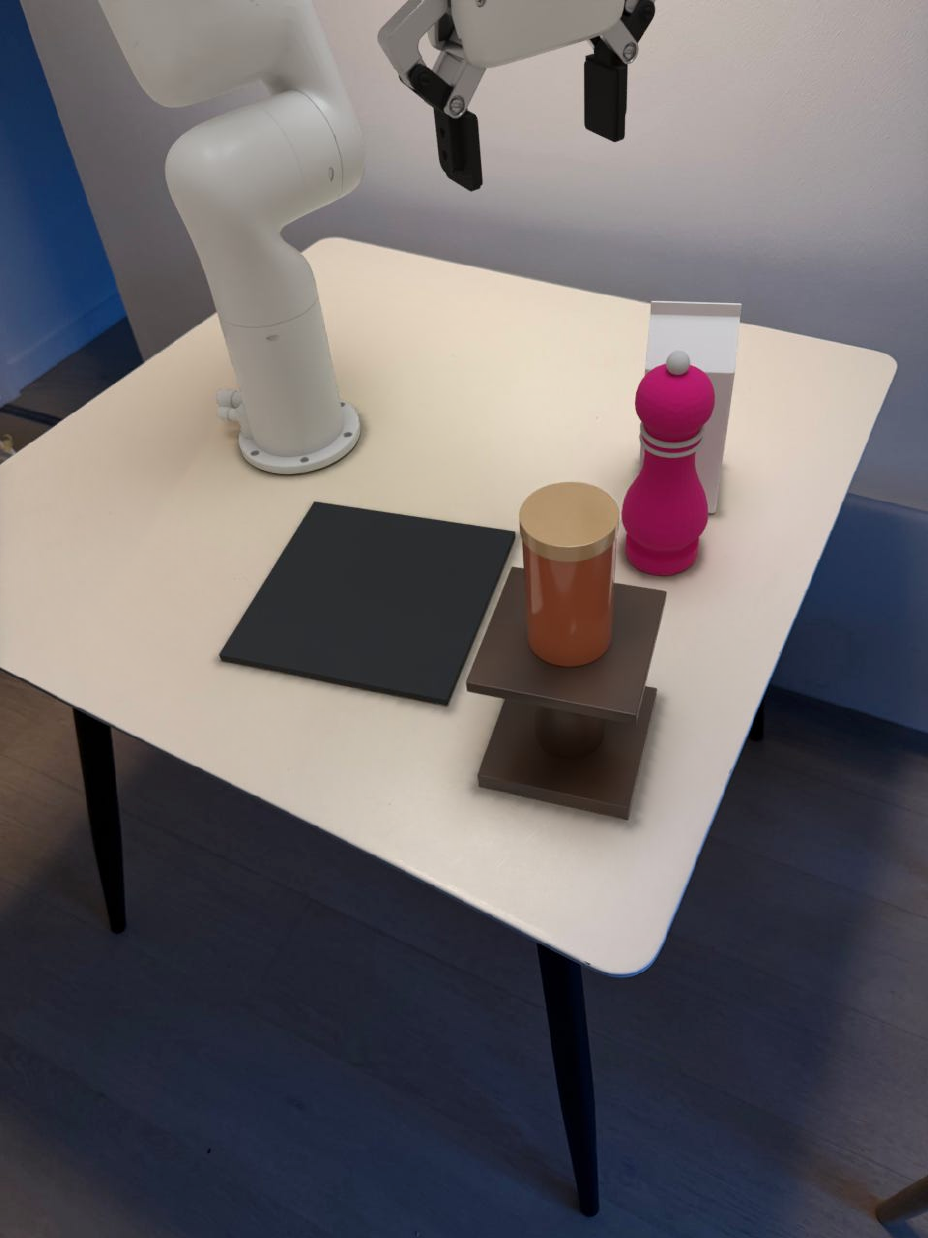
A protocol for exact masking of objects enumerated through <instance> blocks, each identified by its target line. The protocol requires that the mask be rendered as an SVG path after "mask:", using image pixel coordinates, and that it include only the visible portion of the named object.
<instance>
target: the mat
mask: <svg viewBox="0 0 928 1238" xmlns="http://www.w3.org/2000/svg"><path fill="white" fill-rule="evenodd" d="M516 538H517V537H516V531H515V530H508V529H502V528H495V527H490V526H481V525H476V524H469V523H461V522H455V521H450V520H449V521H448V520H440V519H436V518H429V517H423V516H415V515H410V514H402V513H395V512H388V511H383V510H375V509H370V508H369V509H368V508H363V507H355V506H348V505H342V504H335V503H328V502H321V501H315V500H314V501H313V502H312V504H311V506H310V507H309V509H308V511H307V512H306V513H305V515H304V517H303V518H302V520H301V522H300V523H299V525H298V526H297V528H296V530H295V531H294V533H293V535H292V536H291V538H290V539H289V541H288V543H287V544H286V546H285V547H284V549H283V550H282V552H281V554H280V556H279V557H278V558H277V560H276V562H275V563H274V565H273V566H272V568H271V570H270V571H269V573H268V574H267V576H266V578H265V579H264V581H263V582H262V584H261V586H260V587H259V590H258V591H257V592H256V593H255V596H254V597H253V599H252V601H251V602H250V604H249V605H248V607H247V608H246V610H245V612H244V613H243V615H242V617H241V618H240V620H239V621H238V623H237V625H236V626H235V628H234V629H233V631H232V633H231V634H230V635H229V637H228V639H227V640H226V641H225V642H226V643H225V644H224V645H223V647H222V649H221V650H220V652H219V654H218V656H219V659H220V661H222V662H226V663H232V664H236V665H241V666H245V667H252V668H257V669H260V670H266V671H272V672H276V673H281V674H286V675H291V676H297V677H301V678H306V679H311V680H316V681H320V682H325V683H330V684H336V685H341V686H346V687H351V688H356V689H361V690H366V691H371V692H376V693H381V694H385V695H390V696H395V697H400V698H405V699H410V700H414V701H415V700H416V701H421V702H425V703H430V704H434V705H440V706H445V707H447V706H448V705H449V704H450V701H451V700H452V699H451V698H452V696H453V693H454V691H455V688H456V686H457V684H458V681H459V679H460V677H461V674H462V671H463V669H464V666H465V664H466V661H467V659H468V656H469V654H470V653H471V652H470V651H471V649H472V646H473V645H474V642H475V639H476V637H477V634H478V632H479V629H480V627H481V625H482V622H483V619H484V617H485V616H486V615H485V614H486V612H487V609H488V607H489V604H490V601H491V600H492V597H493V595H494V592H495V591H496V587H497V585H498V582H499V580H500V577H501V575H502V572H503V570H504V568H505V565H506V562H507V561H508V557H509V556H510V553H511V551H512V548H513V545H514V543H515V540H516Z"/></svg>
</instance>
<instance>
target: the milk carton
mask: <svg viewBox="0 0 928 1238" xmlns="http://www.w3.org/2000/svg"><path fill="white" fill-rule="evenodd" d="M742 306H743V304H742V303H740V302H739V303H738V302H737V303H736V302H708V301H707V302H704V301H673V300H670V301H669V300H651V301H650V309H649V322H648V333H647V343H646V353H645V355H646V356H645V363H644V376H645V375H646V374H647V373H648V372H649V371H651V370H652V369H654V368H655V367H657V366H660V365H663V364H665V363H666V360H667V357H668V356H669V355H670V354H671V353H672V352H674V351H684V352H685V353H686V354H687V355H688V356H689V358H690V365H692V366H695V367H697V368H699V369H700V370H702V371H703V372H704V373H705V374H706V375H707V376H708V377H709V379H710V380H711V382H712V385H713V387H714V393H715V405H714V409H713V412H712V415H711V417H710V418H709V420H708V421H707V422H706V423H705V424H704V425H705V432H704V441H703V444H702V446H701V447H700V448H699V449H698V450H697V451H696V454H695V467H696V472H697V474H698V477H699V480H700V482H701V484H702V487H703V489H704V491H705V495H706V499H707V504H708V514H715V513H716V512H717V505H718V498H719V489H720V484H721V477H722V470H723V461H724V456H725V455H724V454H725V447H726V442H727V441H726V440H727V433H728V426H729V418H730V413H731V412H730V410H731V405H732V396H733V390H734V389H733V388H734V384H735V383H734V381H735V374H736V365H737V355H738V347H739V346H738V345H739V344H738V343H739V335H740V325H741V314H742ZM639 443H640V442H639ZM644 454H645V452H644V447H643V446H642V445H641V443H640V444H639V459H638V460H639V461H638V474H639V473H640V471H641V469H642V466H643V461H644Z"/></svg>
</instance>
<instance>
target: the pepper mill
mask: <svg viewBox="0 0 928 1238" xmlns="http://www.w3.org/2000/svg"><path fill="white" fill-rule="evenodd" d="M714 405H715V393H714V387H713V385H712V382H711V380H710V379H709V377H708V376H707V375H706V374H705V373H704V372H703V371H702V370H700V369H699V368H697V367H695V366H692V365H690V358H689V356H688V355H687V354H686V353H685V352H684V351H674V352H672V353H671V354H670V355H669V356H668V357H667V360H666V363H665V364H663V365H660V366H657V367H655V368H654V369H652V370H651V371H649V372H648V373H647V374H646V375H645V374H644V376H643V377H642V378H641V380H640V382H639V383H638V386H637V389H636V392H635V398H634V409H635V413H636V415H637V417H638V419H639V421H640V424H639V434H638V435H639V436H638V438H639V443H641V445H642V446H643V447H644V452H645V454H644V461H643V466H642V469H641V471H640V473H639V472H638V475H637V476H636V478H635V479H634V480H633V482H632V483H631V485H630V486H629V488H628V490H627V491H626V494H625V496H624V499H623V501H622V506H621V507H622V508H621V513H620V515H621V517H620V518H621V523H622V526H623V529H624V530H625V532H626V534H625V547H624V551H625V555H626V558H627V560H628V561H629V562H630V563H631V564H632V565H633V566H634V567H635V568H637V570H640V571H642V572H643V573H647V574H651V575H654V576H670V575H671V576H672V575H677V574H679V573H682V572H684V571H686V570H687V569H689V568H690V567H691V566H692V565H693V564H694V563H695V561H696V560H697V557H698V551H699V543H700V536H701V535H702V534H703V533H704V531H705V529H706V527H707V525H708V520H709V513H708V504H707V499H706V495H705V491H704V489H703V487H702V484H701V482H700V480H699V477H698V474H697V472H696V467H695V454H696V451H697V450H698V449H699V448H700V447H701V446H702V444H703V441H704V432H705V425H704V424H705V423H706V422H707V421H708V420H709V418H710V417H711V415H712V412H713V409H714Z"/></svg>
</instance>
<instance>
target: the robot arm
mask: <svg viewBox="0 0 928 1238" xmlns="http://www.w3.org/2000/svg"><path fill="white" fill-rule="evenodd" d="M97 1H98V4H99V5H100V6H99V7H101V10H102V12H103V14H104V16H105V19H106V21H107V23H108V25H109V27H110V30H111V31H112V33H113V35H114V38H115V39H116V41H117V44H118V46H119V47H120V50H121V51H122V55H123V57H124V58H125V60H126V62H127V64H128V66H129V68H130V71H131V72H132V74H133V75H134V77H135V79H136V80H137V82H138V84H139V85H140V87H141V88H142V90H143V91H144V92H145V94H146V95H147V96H148V97H149V98H150V99H151V100H152V101H153V102H155V103H156V104H159V105H160V106H162V107H165V108H172V109H173V108H184V107H188V106H193V105H195V104H199V103H202V102H205V101H208V100H211V99H214V98H216V97H219V96H222V95H226V94H227V93H230V92H233V91H235V90H239V89H241V88H244V87H246V86H249V85H252V84H255V83H257V82H260V81H261V82H262V83H263V85H264V86H265V88H266V89H267V91H268V93H269V95H270V96H268V97H265V98H263V99H260V100H258V101H256V102H253V103H251V104H245V105H242V106H240V107H238V108H235V109H233V110H230V111H227V112H225V113H221V114H219V115H217V116H214V117H212V118H210V119H207V120H205V121H202V122H200V123H199V124H197V125H194V126H193V127H191V128H190V129H189V130H187V131H186V132H184V133H183V134H181V136H179V137H178V138H177V139H176V140H175V142H173V144H172V145H171V147H170V148H169V150H168V153H167V156H166V158H165V163H164V164H165V165H164V176H165V182H166V186H167V188H168V189H167V190H168V192H169V195H170V197H171V199H172V201H173V204H174V206H175V208H176V210H177V213H178V214H179V216H180V219H181V220H182V222H183V225H184V227H185V229H186V231H187V233H188V235H189V237H190V240H191V241H192V244H193V246H194V249H195V251H196V253H197V256H198V258H199V261H200V264H201V267H202V270H203V272H204V275H205V279H206V281H207V285H208V288H209V292H210V294H211V297H212V302H213V304H214V308H215V312H216V314H217V317H218V320H219V325H220V328H221V331H222V335H223V338H224V342H225V346H226V348H227V351H228V356H229V359H230V362H231V367H232V369H233V373H234V377H235V380H236V383H237V386H238V390H239V391H238V390H237V389H236V390H234V389H226V388H219V389H218V390H217V392H216V397H215V400H216V405H217V406H218V408H217V410H216V417H217V419H218V420H220V421H227V422H236V423H237V424H238V425H240V430H239V433H238V445H239V447H240V448H239V449H240V451H241V454H242V456H243V457H244V459H245V460H246V461H247V462H248V463H249V464H250V465H251V466H253V467H255V468H256V469H259V470H262V471H264V472H268V473H273V474H280V475H283V474H284V475H296V474H305V473H309V472H313V471H317V470H319V469H322V468H326V467H327V466H330V465H332V464H334V463H335V462H337V461H339V460H341V459H342V458H343V457H345V456H346V455H347V454H348V453H349V452H350V451H352V449H353V448H354V446H356V444H357V442H358V441H359V438H360V435H361V429H362V428H361V422H360V417H359V415H358V412H357V410H355V408H354V407H353V405H351V404H350V403H349V402H347V401H345V400H343V399H341V398H340V392H339V388H338V382H337V378H336V374H335V369H334V364H333V358H332V354H331V348H330V345H329V340H328V334H327V329H326V325H325V320H324V314H323V310H322V303H321V299H320V295H319V291H318V285H317V282H316V277H315V273H314V270H313V268H312V267H311V265H310V263H309V261H308V259H307V258H306V257H305V256H304V254H302V253H301V252H300V251H299V250H298V249H297V248H296V247H294V246H293V245H292V244H290V243H288V242H287V241H285V239H284V238H283V236H282V234H281V232H282V230H283V229H284V227H286V226H287V225H289V224H291V223H293V222H295V221H296V220H298V219H300V218H301V217H304V216H307V215H308V214H310V213H313V212H315V211H317V210H320V209H321V208H324V207H325V206H328V205H330V204H332V203H334V202H336V201H338V200H340V199H342V198H344V197H346V196H347V195H349V194H350V193H352V192H353V191H354V190H355V189H356V188H357V187H358V186H359V185H360V184H361V182H362V180H363V177H364V175H365V171H366V167H367V153H366V146H365V141H364V137H363V133H362V130H361V126H360V123H359V120H358V117H357V115H356V112H355V109H354V107H353V103H352V101H351V98H350V96H349V94H348V91H347V88H346V85H345V82H344V80H343V77H342V75H341V72H340V70H339V67H338V65H337V62H336V59H335V57H334V53H333V51H332V49H331V46H330V44H329V41H328V38H327V36H326V33H325V29H324V27H323V25H322V22H321V20H320V17H319V15H318V12H317V9H316V8H315V5H314V3H313V0H97ZM655 3H656V0H407V1H406V2H405V3H404V4H402V6H401V7H400V8H399V9H398V10H397V11H396V12H395V13H394V14H393V15H392V16H391V17H390V18H389V19H388V20H387V21H386V22H385V23H384V24H383V25H382V26H381V27H380V29H379V30H378V32H377V36H376V39H377V40H376V41H377V42H378V46H379V47H380V48H381V50H382V52H383V53H384V55H385V57H386V58H387V60H388V61H389V63H390V64H391V66H392V67H393V69H394V70H395V71H396V73H397V74H398V79H399V81H400V82H401V83H402V84H403V85H404V86H406V87H407V88H408V89H409V90H411V91H412V92H413V93H414V94H416V95H417V96H418V97H419V98H420V99H421V100H423V102H424V103H425V104H427V105H428V106H430V107H432V109H433V117H434V118H433V119H434V128H435V136H436V147H437V156H438V162H439V165H440V168H441V170H442V172H444V173H445V175H446V177H447V178H448V179H449V180H451V181H453V182H454V183H456V184H457V185H459V186H460V187H462V188H463V189H465V190H467V191H469V192H470V193H472V192H474V191H478V190H480V189H481V188H482V186H483V184H484V180H483V167H482V166H483V165H482V152H481V142H480V141H481V140H480V127H479V119H478V116H477V115H476V114H475V113H474V112H471V111H470V110H469V109H468V107H469V105H470V103H471V102H472V99H473V98H474V95H475V93H476V91H477V89H478V87H479V85H480V83H481V80H482V79H483V77H484V74H485V72H486V71H487V69H494V68H497V67H498V68H499V67H501V66H507V65H509V64H512V63H513V64H514V63H515V62H519V61H524V60H525V59H529V58H532V57H537V56H539V55H543V54H546V53H549V52H552V51H556V50H559V49H563V48H566V47H569V46H572V45H576V44H578V43H582V42H584V41H586V42H587V44H588V45H589V46H590V48H591V49H592V50H593V53H590V54H587V55H585V56H584V58H585V60H584V63H583V125H584V128H585V129H586V130H587V131H589V132H591V133H593V134H596V135H598V136H599V137H602V138H603V139H606V140H608V141H611V143H618V142H620V141H623V140H624V139H625V136H626V115H627V110H628V75H629V74H628V73H629V72H628V71H629V65H630V64H632V63H634V62H635V60H636V59H637V57H638V55H639V49H640V47H639V42H640V40H641V39H642V37H643V36H644V34H645V33H646V31H647V30H648V27H649V26H650V25H651V23H652V21H653V19H654V18H655V15H656V5H655ZM426 33H427V38H428V41H429V44H430V45H431V46H432V48H434V49H435V50H437V51H439V53H438V56H437V58H436V60H435V62H434V65H433V67H432V69H431V68H430V67H428V66H427V64H426V62H425V61H424V59H423V55H422V54H421V52H420V50H419V44H420V41H421V39H422V37H424V36H425V34H426Z"/></svg>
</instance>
